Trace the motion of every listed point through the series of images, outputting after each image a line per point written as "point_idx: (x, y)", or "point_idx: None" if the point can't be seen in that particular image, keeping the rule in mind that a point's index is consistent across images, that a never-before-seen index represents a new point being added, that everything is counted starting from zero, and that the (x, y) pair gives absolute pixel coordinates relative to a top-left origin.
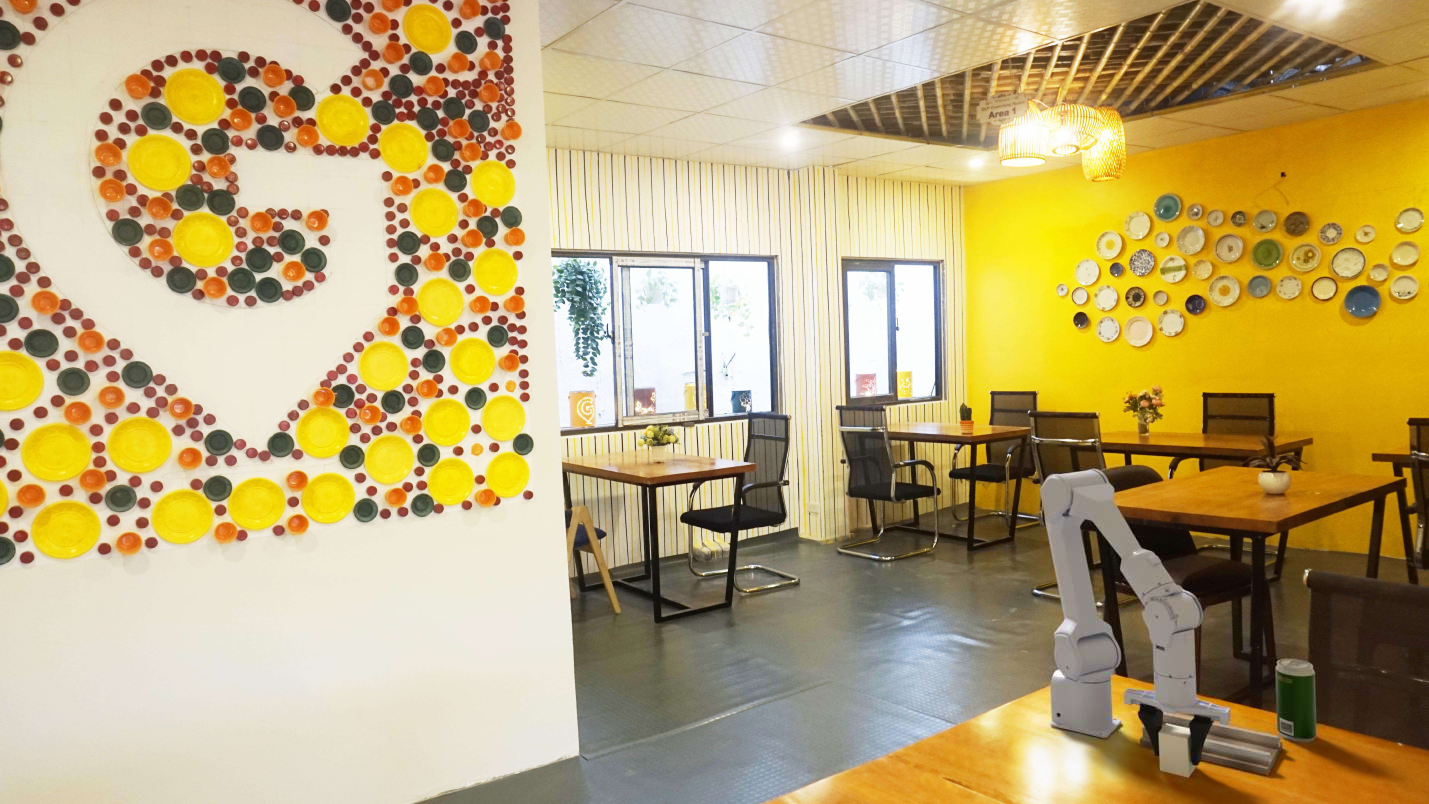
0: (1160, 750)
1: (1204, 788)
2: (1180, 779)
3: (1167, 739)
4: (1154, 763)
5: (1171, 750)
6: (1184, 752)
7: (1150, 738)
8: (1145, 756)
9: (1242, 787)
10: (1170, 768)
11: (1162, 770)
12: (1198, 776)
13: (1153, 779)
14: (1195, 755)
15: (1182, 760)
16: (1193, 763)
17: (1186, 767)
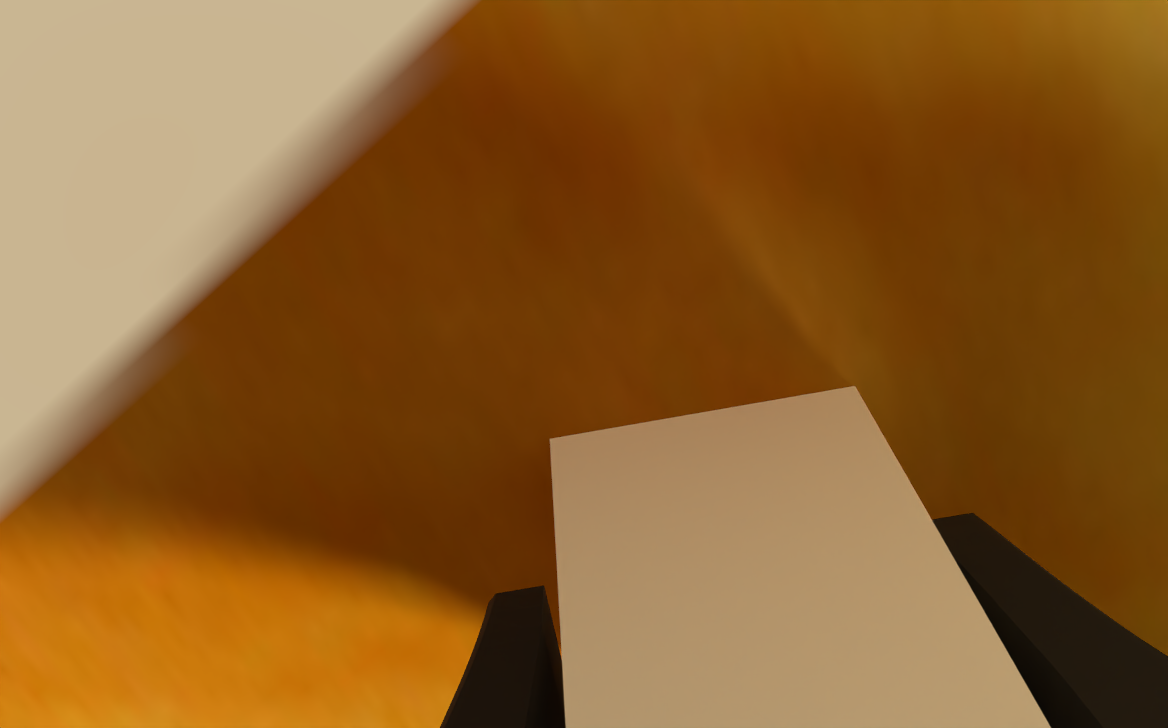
0: (924, 540)
1: (297, 323)
2: (591, 340)
3: (879, 698)
4: (956, 484)
5: (782, 591)
6: (606, 633)
7: (1134, 635)
8: (1082, 557)
9: (66, 591)
10: (749, 434)
11: (828, 392)
12: (486, 521)
13: (834, 122)
14: (484, 673)
15: (622, 542)
16: (526, 598)
17: (571, 500)
